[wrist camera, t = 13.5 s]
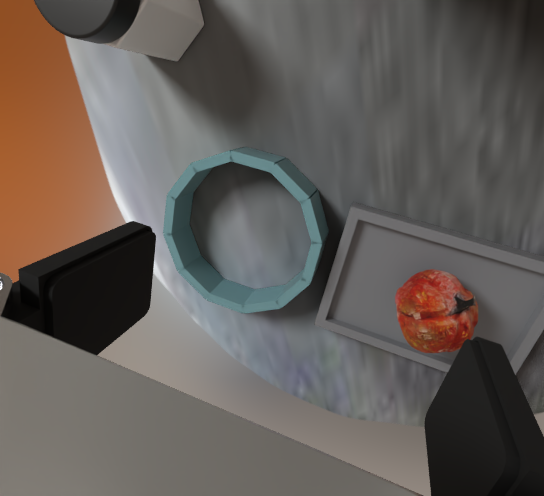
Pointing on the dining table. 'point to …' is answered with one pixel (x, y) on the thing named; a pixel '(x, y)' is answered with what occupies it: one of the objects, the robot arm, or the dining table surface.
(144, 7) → the jar
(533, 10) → the dining table surface
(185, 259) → the teal polygonal ring
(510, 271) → the tray
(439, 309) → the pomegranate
